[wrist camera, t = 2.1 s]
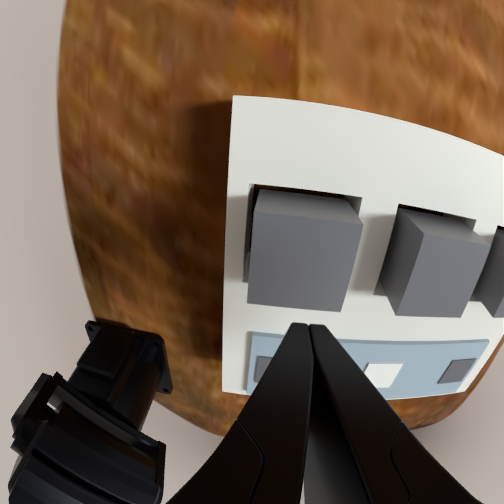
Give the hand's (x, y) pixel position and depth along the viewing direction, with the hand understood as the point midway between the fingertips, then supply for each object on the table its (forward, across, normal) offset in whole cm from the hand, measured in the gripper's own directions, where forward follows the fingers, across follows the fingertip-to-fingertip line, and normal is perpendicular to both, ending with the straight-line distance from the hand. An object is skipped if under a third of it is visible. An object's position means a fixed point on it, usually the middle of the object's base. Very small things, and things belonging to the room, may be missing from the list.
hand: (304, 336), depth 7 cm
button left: (+6, 0, 0) cm, 6 cm away
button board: (+8, -6, +2) cm, 11 cm away
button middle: (+6, -6, 0) cm, 9 cm away
